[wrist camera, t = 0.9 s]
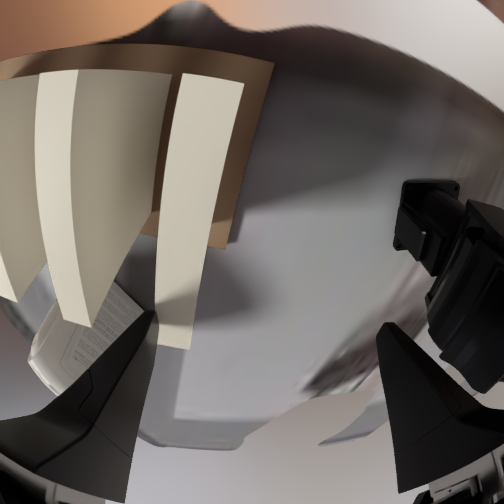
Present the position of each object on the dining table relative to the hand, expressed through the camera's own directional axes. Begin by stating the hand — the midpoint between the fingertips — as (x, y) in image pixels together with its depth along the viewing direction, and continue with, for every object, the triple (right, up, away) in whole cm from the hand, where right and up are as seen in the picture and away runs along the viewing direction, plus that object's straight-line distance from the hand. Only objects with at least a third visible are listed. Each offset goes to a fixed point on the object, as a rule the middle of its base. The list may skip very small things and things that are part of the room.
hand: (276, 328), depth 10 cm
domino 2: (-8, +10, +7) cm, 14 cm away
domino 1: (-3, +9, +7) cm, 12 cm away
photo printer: (-15, -2, +15) cm, 21 cm away
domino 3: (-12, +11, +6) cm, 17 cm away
